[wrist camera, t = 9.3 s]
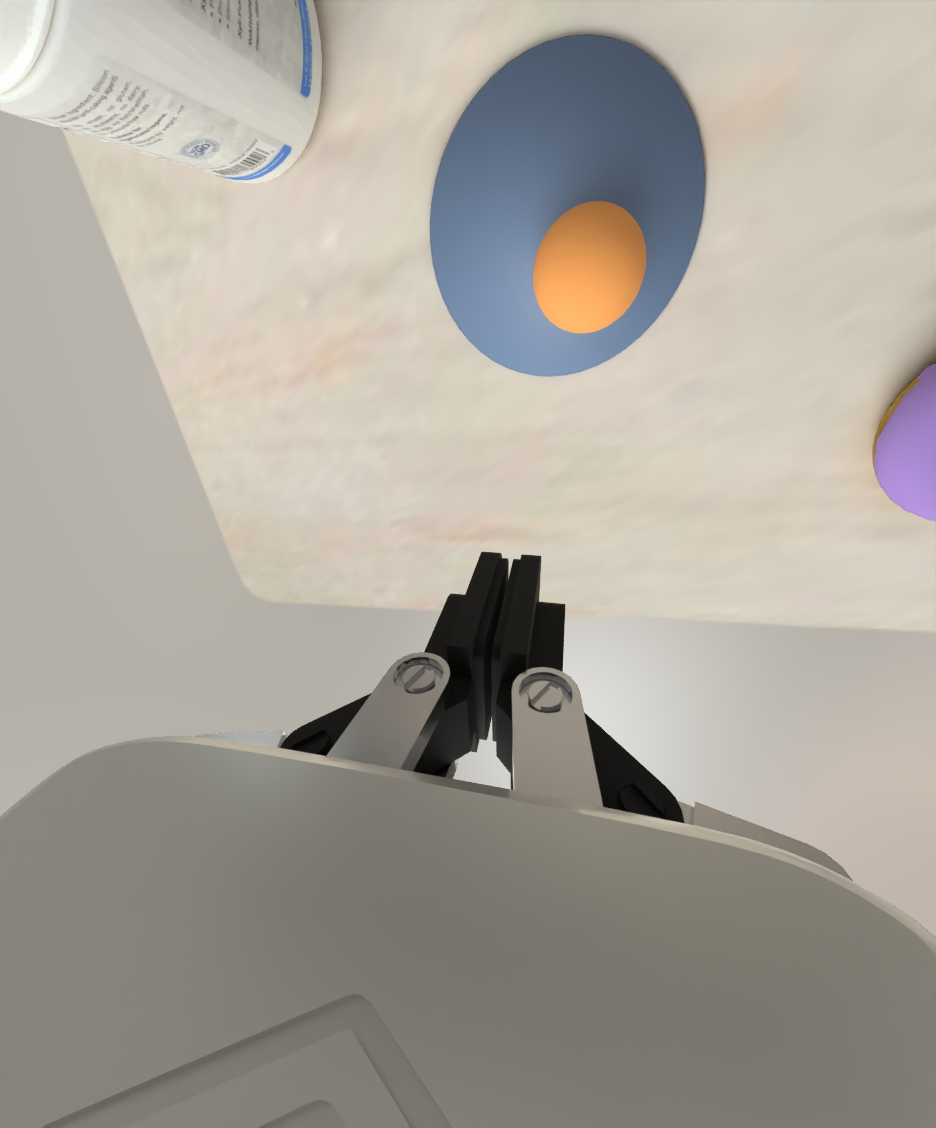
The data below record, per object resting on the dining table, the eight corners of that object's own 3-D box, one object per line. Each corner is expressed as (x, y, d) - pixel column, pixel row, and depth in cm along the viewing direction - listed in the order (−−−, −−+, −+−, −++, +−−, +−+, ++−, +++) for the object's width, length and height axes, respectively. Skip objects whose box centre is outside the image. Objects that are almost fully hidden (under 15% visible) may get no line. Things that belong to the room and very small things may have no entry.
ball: (564, 262, 16) (498, 311, 21) (648, 334, 19) (573, 365, 23) (608, 140, 16) (533, 215, 21) (686, 228, 19) (603, 278, 23)
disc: (419, 63, 19) (417, 61, 19) (740, 9, 17) (741, 7, 16) (440, 377, 26) (439, 377, 26) (671, 374, 23) (671, 374, 23)
